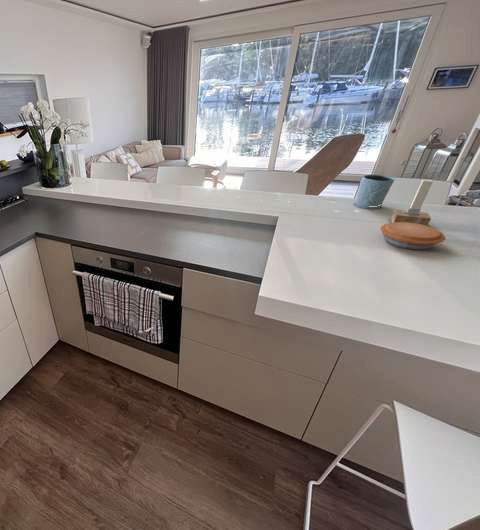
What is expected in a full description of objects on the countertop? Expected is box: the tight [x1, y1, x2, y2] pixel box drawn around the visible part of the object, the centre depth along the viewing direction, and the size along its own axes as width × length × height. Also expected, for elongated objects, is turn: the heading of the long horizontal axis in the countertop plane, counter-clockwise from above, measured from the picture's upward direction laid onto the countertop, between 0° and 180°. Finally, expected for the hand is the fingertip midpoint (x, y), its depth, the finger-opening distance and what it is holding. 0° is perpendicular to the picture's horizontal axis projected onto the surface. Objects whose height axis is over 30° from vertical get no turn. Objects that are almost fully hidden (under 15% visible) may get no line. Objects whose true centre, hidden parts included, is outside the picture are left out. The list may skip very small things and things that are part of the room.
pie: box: [379, 222, 447, 250], centre depth 93 cm, size 16×16×5 cm
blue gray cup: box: [355, 174, 396, 210], centre depth 120 cm, size 10×10×12 cm
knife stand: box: [390, 209, 432, 226], centre depth 104 cm, size 9×6×4 cm, turn 56°
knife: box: [406, 179, 434, 215], centre depth 101 cm, size 3×2×16 cm, turn 55°
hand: (469, 197), depth 93 cm, fingers open, 8 cm apart
